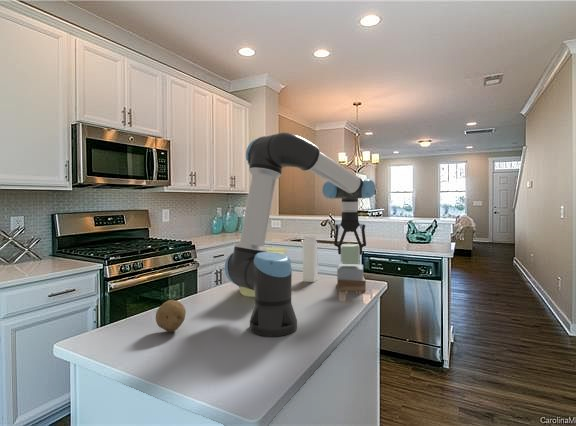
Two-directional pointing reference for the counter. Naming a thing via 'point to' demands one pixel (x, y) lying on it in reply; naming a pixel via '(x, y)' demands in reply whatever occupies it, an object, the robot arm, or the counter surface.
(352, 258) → the sage block
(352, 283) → the tower base
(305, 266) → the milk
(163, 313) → the potato
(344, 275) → the tower top
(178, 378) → the counter surface
